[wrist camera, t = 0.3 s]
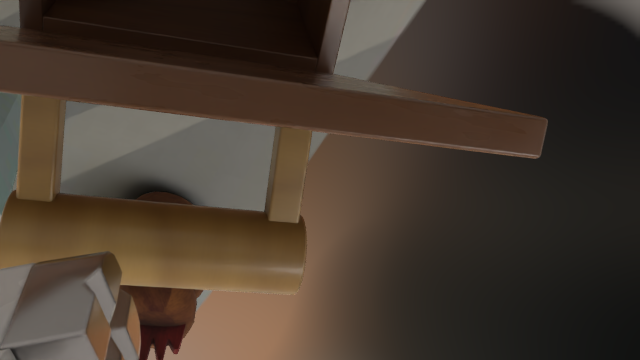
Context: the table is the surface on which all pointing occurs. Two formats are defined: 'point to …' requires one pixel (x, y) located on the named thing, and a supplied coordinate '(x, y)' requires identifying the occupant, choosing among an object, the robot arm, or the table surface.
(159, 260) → the lid
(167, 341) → the wooden figurine
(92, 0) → the chest
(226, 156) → the table surface
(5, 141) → the disposable coffee cup
